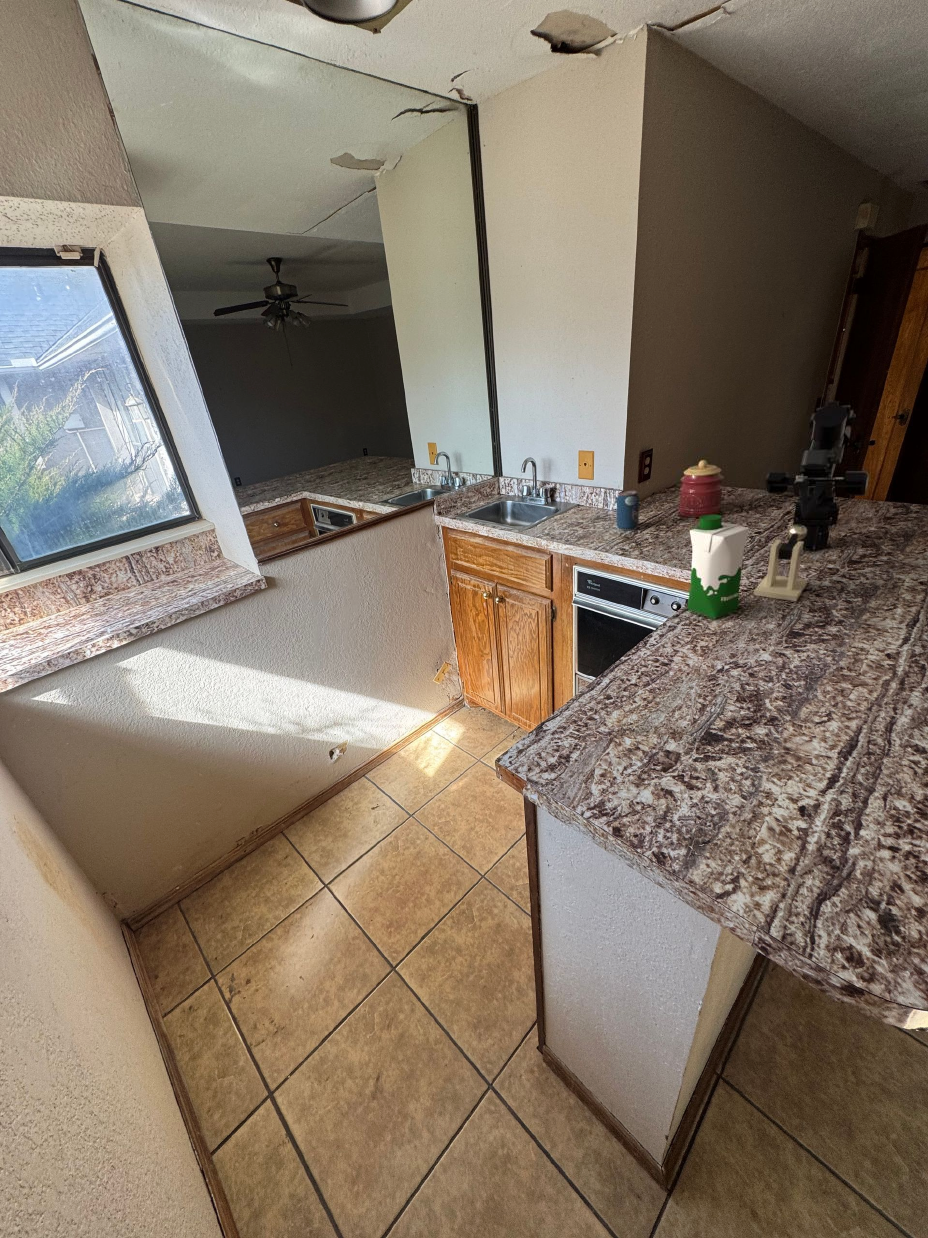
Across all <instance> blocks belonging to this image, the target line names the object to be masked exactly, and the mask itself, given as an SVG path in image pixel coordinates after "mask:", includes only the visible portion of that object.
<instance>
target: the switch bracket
mask: <svg viewBox="0 0 928 1238" xmlns="http://www.w3.org/2000/svg"><path fill="white" fill-rule="evenodd" d="M782 542H783V540H782V539H776V540H775V541H774V542H773V544H771V546H770V547H769V560H768V566H767V567H768V568H767V574H766V575H765V576H764V578H763V579H762V580H761V581H760V583H759V584H758V585H757V586H756V587H755V589H754V591H753V596H759V597H765V598H771V599H777V600H779V599H780V600H785V601H792V602H797V601H798V599H799V598H800V596H801V594H802V593H803V591H804V590H805V588H806V587H807V584H808V579H806V578H799V573H800V566H801V560H802V557H803V556H804V553H805V552H804V551H805V550H804V549H803V544H804V542H802V541H798V542H797V544H796V545H795V546H794V548H793V553H792V557H791V559H790V567H789V572H788V576H781V575H778V569H779V562H780V559H778V556H779V549H780V547H781V546H782V544H783V543H782Z"/></svg>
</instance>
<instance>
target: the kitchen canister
mask: <svg viewBox="0 0 928 1238" xmlns="http://www.w3.org/2000/svg"><path fill="white" fill-rule="evenodd" d="M721 471H722V468H720V467H718V466H717V465H715V464H708V461H707V460H705V459H701V460H700V461H699V462H698V465H694V466H693V465H692V466H690V467H688V469H686V470H684V471H683V474H684V476H682V477H681V478H680V482H681V487H680V497H679V506H678V507H679V508H678V510H679V514H680V515H681V516H683V517H689V518H700V517H701V516H703V515H719V513H720V512H721V509H722V493H723V488H724V487H723V485H722V481H723V480H724V478H725V477H724V475H723V474H721Z"/></svg>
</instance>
